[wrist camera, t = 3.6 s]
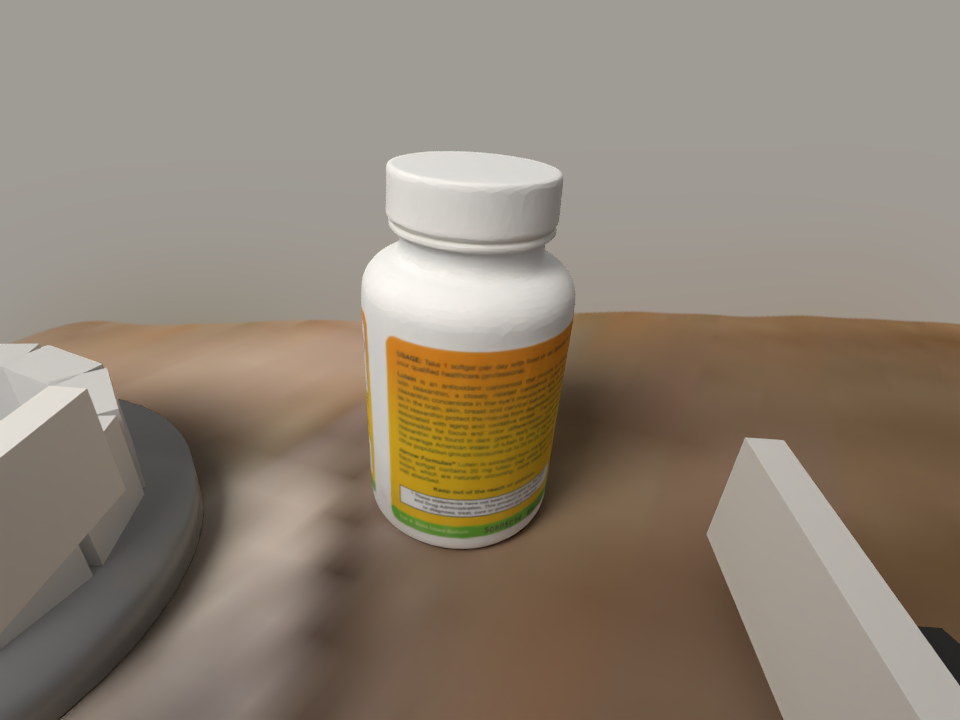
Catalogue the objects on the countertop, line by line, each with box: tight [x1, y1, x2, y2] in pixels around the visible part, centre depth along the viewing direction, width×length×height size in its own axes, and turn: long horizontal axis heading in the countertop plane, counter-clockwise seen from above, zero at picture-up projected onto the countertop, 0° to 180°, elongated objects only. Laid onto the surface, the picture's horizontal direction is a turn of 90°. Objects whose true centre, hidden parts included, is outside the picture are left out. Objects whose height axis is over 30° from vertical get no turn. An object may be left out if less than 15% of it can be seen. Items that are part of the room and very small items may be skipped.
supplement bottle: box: [361, 151, 575, 549], centre depth 17 cm, size 6×6×11 cm
